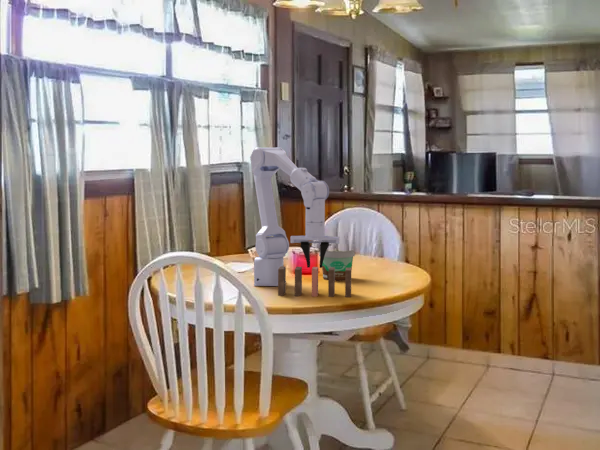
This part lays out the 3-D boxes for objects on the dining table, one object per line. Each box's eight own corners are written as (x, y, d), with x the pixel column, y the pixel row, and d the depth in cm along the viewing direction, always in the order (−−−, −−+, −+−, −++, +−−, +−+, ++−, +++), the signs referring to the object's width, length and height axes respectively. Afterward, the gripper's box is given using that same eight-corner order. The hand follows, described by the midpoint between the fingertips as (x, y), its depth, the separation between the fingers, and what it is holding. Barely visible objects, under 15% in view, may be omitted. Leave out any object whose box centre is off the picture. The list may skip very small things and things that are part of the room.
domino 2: (294, 295, 211) (294, 269, 210) (296, 292, 216) (296, 266, 215) (300, 296, 211) (300, 269, 210) (301, 292, 216) (301, 266, 215)
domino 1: (278, 295, 212) (278, 269, 211) (280, 292, 217) (280, 266, 216) (283, 295, 212) (283, 269, 211) (285, 292, 217) (285, 266, 216)
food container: (323, 282, 233) (323, 252, 232) (318, 279, 239) (319, 249, 238) (359, 281, 235) (359, 251, 234) (354, 277, 241) (354, 248, 240)
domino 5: (345, 297, 210) (345, 270, 209) (345, 293, 215) (346, 267, 214) (350, 297, 210) (350, 270, 209) (351, 293, 215) (351, 267, 214)
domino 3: (311, 296, 211) (311, 269, 210) (312, 293, 216) (312, 266, 215) (317, 296, 211) (317, 269, 210) (318, 293, 216) (318, 267, 215)
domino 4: (328, 296, 210) (328, 270, 209) (329, 293, 215) (329, 267, 214) (333, 296, 210) (333, 270, 209) (334, 293, 215) (334, 267, 214)
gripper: (289, 223, 208) (289, 268, 209) (338, 223, 206) (338, 269, 208) (292, 220, 215) (291, 264, 216) (340, 221, 213) (339, 265, 215)
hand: (314, 267), depth 212 cm, fingers open, 3 cm apart
